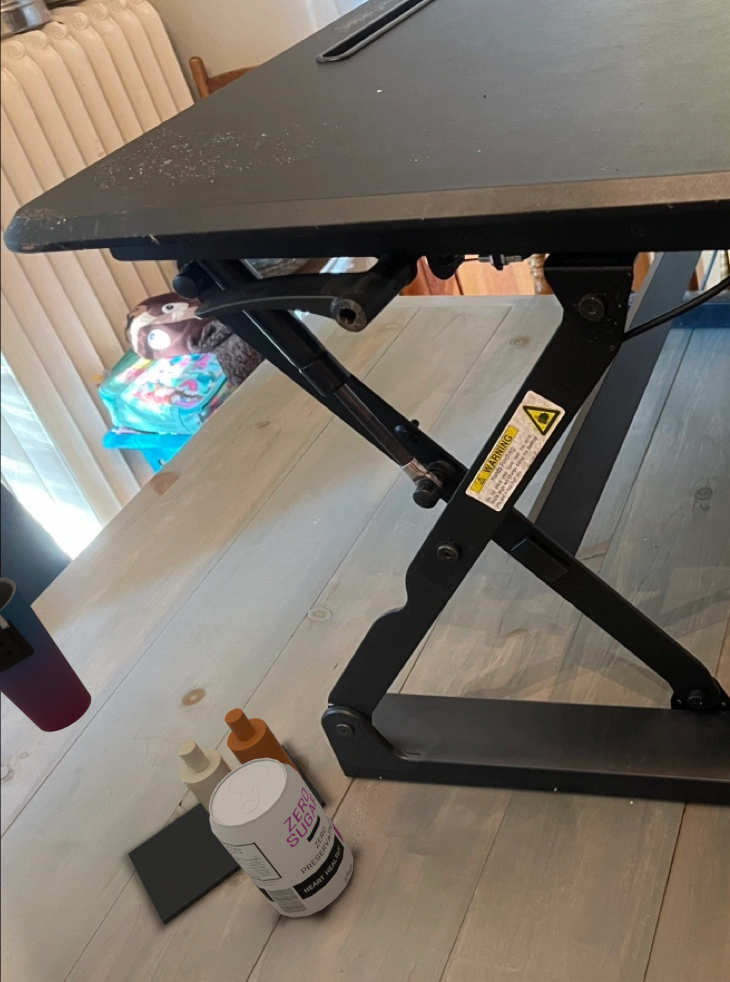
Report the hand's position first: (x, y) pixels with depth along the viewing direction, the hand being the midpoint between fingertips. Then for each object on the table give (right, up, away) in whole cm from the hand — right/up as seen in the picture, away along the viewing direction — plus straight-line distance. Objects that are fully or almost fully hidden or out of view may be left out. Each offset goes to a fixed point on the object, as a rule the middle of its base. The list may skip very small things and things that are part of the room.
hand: (6, 642), depth 98 cm
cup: (+2, -8, +6) cm, 10 cm away
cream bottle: (+16, -21, +13) cm, 29 cm away
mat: (+14, -22, +13) cm, 29 cm away
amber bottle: (+19, -18, +16) cm, 31 cm away
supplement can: (+26, -25, +6) cm, 36 cm away
